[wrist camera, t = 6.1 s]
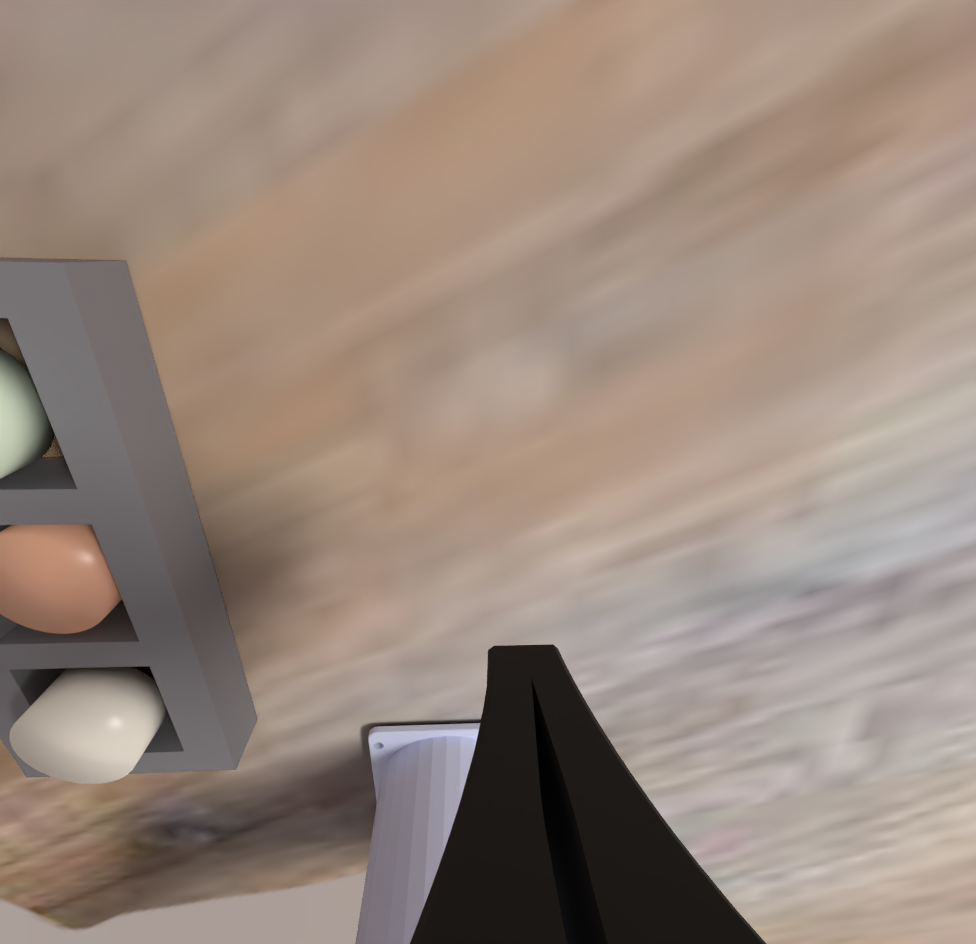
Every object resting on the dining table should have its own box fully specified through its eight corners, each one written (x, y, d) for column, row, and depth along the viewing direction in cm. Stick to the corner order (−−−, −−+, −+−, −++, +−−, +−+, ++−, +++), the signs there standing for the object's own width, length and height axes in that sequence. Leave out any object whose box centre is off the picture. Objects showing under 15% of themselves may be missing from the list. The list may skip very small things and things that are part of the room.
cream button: (181, 730, 21) (151, 781, 19) (78, 734, 20) (37, 786, 18) (152, 659, 19) (116, 707, 17) (38, 662, 19) (-12, 711, 17)
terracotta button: (160, 593, 19) (126, 632, 17) (49, 595, 19) (2, 635, 17) (127, 501, 17) (84, 533, 15) (4, 501, 17) (-56, 534, 15)
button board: (257, 719, 23) (235, 769, 21) (69, 725, 23) (26, 777, 20) (125, 260, 14) (62, 262, 12) (-192, 253, 14) (-321, 253, 11)
